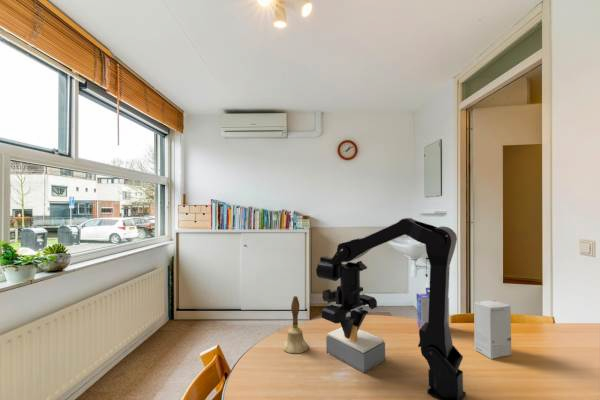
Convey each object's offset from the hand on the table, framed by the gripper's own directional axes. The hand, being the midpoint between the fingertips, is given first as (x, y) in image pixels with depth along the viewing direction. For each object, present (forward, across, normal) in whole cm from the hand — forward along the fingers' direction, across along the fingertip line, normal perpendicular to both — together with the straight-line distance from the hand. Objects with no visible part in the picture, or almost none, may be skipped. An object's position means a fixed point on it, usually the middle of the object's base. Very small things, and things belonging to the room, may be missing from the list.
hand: (350, 336), depth 84 cm
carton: (+6, -2, 0) cm, 7 cm away
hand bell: (+7, +8, -16) cm, 19 cm away
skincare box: (+7, -35, +26) cm, 44 cm away
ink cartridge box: (+7, -37, +7) cm, 38 cm away
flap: (+1, -2, 0) cm, 2 cm away
